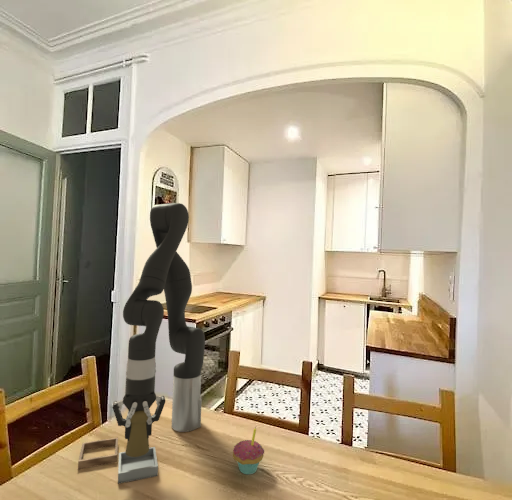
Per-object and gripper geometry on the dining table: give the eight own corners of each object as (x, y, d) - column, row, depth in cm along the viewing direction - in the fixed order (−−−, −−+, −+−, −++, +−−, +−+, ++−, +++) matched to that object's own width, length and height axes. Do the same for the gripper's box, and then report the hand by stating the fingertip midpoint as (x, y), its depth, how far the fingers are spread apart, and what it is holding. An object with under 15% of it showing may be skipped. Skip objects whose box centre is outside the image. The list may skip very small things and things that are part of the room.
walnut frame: (117, 444, 102) (118, 437, 102) (116, 462, 93) (117, 454, 93) (82, 449, 98) (82, 442, 98) (77, 469, 89) (78, 461, 89)
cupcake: (267, 464, 94) (268, 420, 94) (257, 482, 86) (258, 435, 86) (238, 457, 97) (240, 415, 97) (226, 474, 89) (228, 428, 89)
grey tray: (154, 455, 96) (155, 446, 96) (157, 476, 87) (158, 466, 88) (118, 461, 93) (118, 452, 93) (117, 483, 84) (118, 473, 84)
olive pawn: (141, 458, 87) (143, 415, 87) (120, 455, 88) (122, 412, 88) (153, 446, 93) (155, 405, 93) (133, 443, 94) (135, 403, 94)
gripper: (166, 367, 97) (163, 427, 96) (113, 371, 92) (109, 435, 91) (169, 376, 90) (166, 441, 89) (111, 381, 85) (108, 450, 84)
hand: (137, 437), depth 90 cm, fingers closed on olive pawn, 4 cm apart
